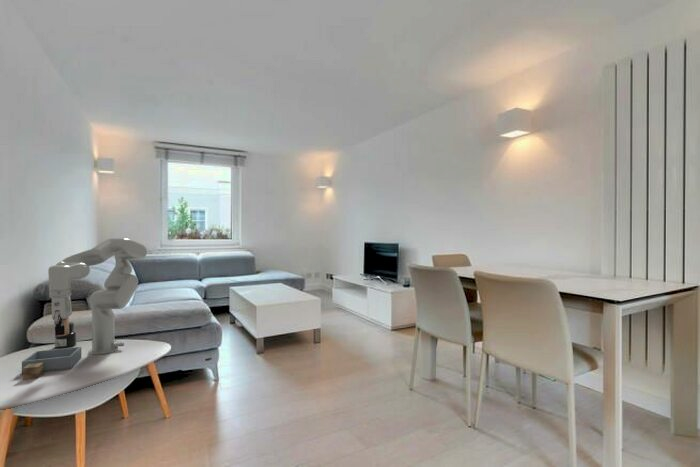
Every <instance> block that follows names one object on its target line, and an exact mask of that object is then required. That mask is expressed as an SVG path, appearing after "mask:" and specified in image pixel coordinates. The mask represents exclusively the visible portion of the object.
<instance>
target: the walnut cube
mask: <svg viewBox="0 0 700 467" xmlns="http://www.w3.org/2000/svg"><path fill="white" fill-rule="evenodd" d="M22 375H23V376H22V381H27V380H35V379H39V378H40V377H41V376H43V375H44V372H43V363H35V364H28V365H27V366H26V367H24V368H23V374H22Z"/></svg>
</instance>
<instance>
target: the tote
mask: <svg viewBox="0 0 700 467" xmlns="http://www.w3.org/2000/svg"><path fill="white" fill-rule="evenodd" d="M80 360H82V346H75V347H73V346H72V347H67V348H56V349H55V348H54V349H47V350H45V349H43V350H37V351H35V352H33V353H31V354H30V355H29V356H27V357H26V358H25V359H23V360H22V361H21V375H23V368H24V367H26V366H27V365H28V364H35V363H43V373H45V372H46V373H47V372H55V371H56V372H57V371H63V370H71V369H72V368H73V367H74V366H76V365H77V363H78V362H79V361H80Z"/></svg>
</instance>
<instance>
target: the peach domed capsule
mask: <svg viewBox="0 0 700 467" xmlns="http://www.w3.org/2000/svg"><path fill="white" fill-rule="evenodd" d="M59 319H62V318H59ZM69 319H70V318H69V317H68V318H66V319H64V321H63V325H64V330H65V334H64V335H55V334H54V337H55V336H65V335H68V334H69V322H70V320H69ZM59 321H60V322H61V320H59ZM53 324H54V326H53V327H54V328H55V323H53Z"/></svg>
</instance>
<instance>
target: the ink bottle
mask: <svg viewBox="0 0 700 467" xmlns="http://www.w3.org/2000/svg"><path fill="white" fill-rule="evenodd" d="M74 325H75V324H74V322H71V321H69V334H68V335H65V336H55V335H54V347H55V348H56V349H63V348H72V347H73V346H76V344H77V332H76V331H74V329H75V328H74V327H75V326H74ZM55 348H54V349H55Z"/></svg>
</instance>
